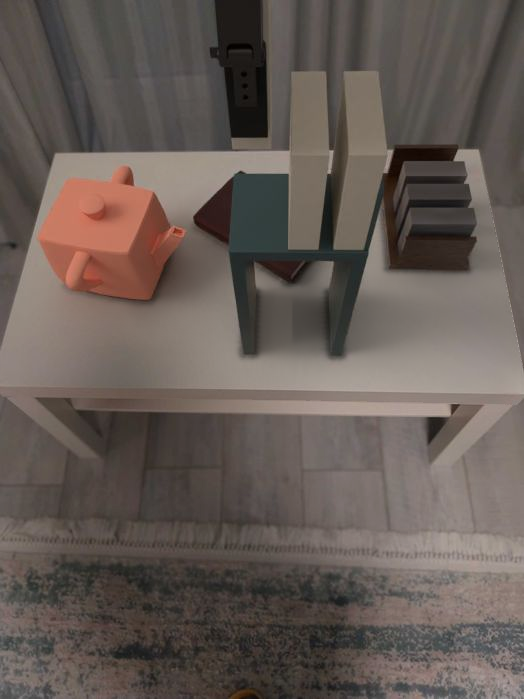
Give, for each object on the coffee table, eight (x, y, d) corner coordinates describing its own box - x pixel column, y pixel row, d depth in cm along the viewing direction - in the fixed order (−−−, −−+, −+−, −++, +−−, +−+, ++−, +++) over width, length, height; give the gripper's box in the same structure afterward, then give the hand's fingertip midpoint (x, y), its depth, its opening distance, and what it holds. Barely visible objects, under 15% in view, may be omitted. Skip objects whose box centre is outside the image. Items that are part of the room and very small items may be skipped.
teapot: (49, 314, 75) (3, 259, 62) (101, 204, 84) (70, 137, 72) (174, 338, 73) (152, 286, 60) (214, 222, 82) (202, 156, 69)
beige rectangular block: (232, 149, 38) (214, -23, 28) (238, 65, 43) (225, -112, 32) (271, 149, 38) (268, -24, 27) (273, 65, 43) (272, -113, 32)
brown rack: (467, 269, 76) (490, 231, 68) (388, 269, 77) (402, 231, 69) (450, 177, 85) (468, 133, 76) (379, 177, 85) (390, 134, 77)
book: (289, 286, 76) (290, 274, 73) (194, 227, 81) (191, 214, 78) (334, 233, 80) (337, 220, 77) (241, 181, 86) (240, 166, 83)
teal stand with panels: (338, 292, 75) (384, 68, 43) (341, 355, 71) (394, 157, 38) (246, 291, 76) (222, 69, 43) (243, 354, 71) (214, 158, 39)
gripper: (333, -374, 14) (300, 195, 34) (317, -499, 24) (299, -1, 44) (69, -363, 14) (192, 195, 34) (162, -491, 24) (215, 1, 44)
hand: (252, 85), depth 39 cm, fingers closed on beige rectangular block, 10 cm apart
